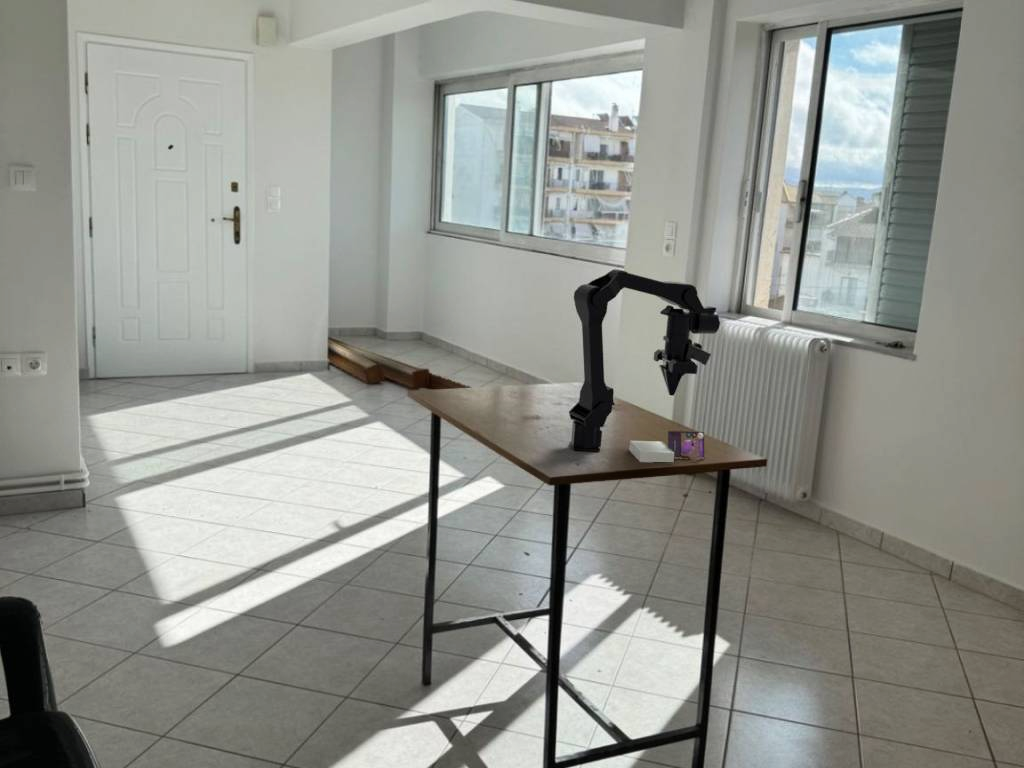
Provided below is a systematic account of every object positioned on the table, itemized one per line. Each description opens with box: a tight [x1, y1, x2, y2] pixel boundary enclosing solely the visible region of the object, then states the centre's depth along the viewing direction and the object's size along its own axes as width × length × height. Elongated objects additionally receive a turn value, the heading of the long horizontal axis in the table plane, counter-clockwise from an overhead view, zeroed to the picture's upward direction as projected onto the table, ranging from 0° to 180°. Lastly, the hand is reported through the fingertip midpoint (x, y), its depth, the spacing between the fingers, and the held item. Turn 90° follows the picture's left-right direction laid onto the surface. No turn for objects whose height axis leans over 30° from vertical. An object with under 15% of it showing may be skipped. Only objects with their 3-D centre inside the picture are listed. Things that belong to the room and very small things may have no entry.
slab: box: [628, 440, 675, 463], centre depth 226 cm, size 8×10×3 cm
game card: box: [667, 430, 705, 458], centre depth 229 cm, size 7×5×9 cm
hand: (671, 395), depth 237 cm, fingers closed
